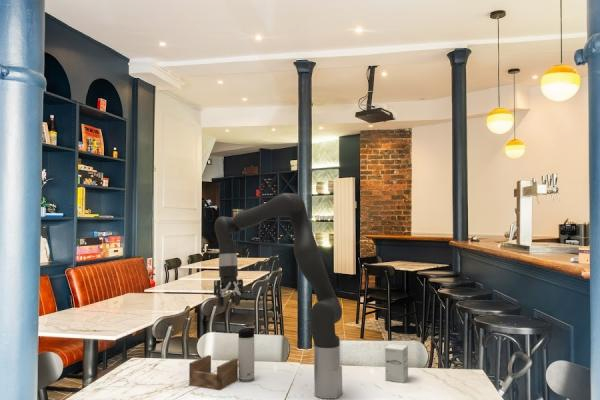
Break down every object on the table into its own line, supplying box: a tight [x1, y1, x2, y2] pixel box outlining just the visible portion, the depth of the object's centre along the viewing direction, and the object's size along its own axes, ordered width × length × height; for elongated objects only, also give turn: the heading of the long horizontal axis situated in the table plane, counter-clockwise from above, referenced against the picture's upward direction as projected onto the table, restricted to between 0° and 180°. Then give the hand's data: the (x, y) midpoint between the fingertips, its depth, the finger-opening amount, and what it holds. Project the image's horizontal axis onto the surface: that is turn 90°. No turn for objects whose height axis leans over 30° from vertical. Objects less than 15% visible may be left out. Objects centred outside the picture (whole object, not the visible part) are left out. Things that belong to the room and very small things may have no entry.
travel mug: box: [237, 327, 256, 383], centre depth 181 cm, size 6×7×20 cm
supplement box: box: [384, 343, 409, 384], centre depth 179 cm, size 7×7×13 cm
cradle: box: [188, 354, 239, 391], centre depth 177 cm, size 14×12×8 cm
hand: (229, 305), depth 185 cm, fingers open, 8 cm apart
